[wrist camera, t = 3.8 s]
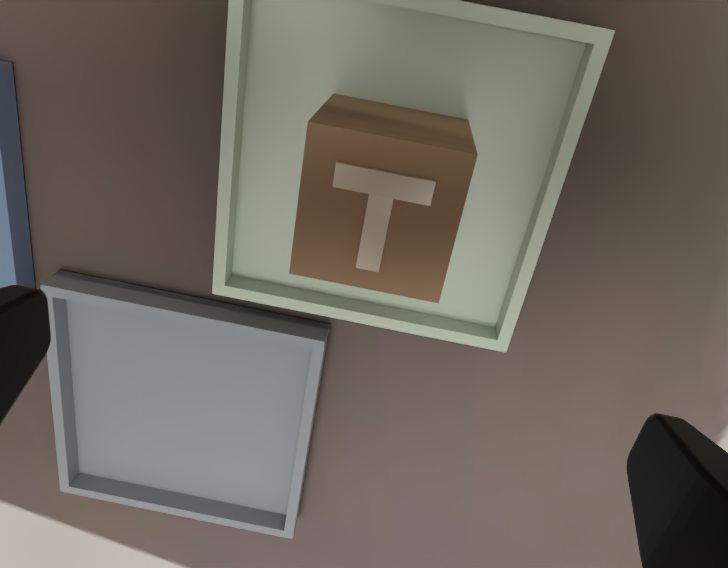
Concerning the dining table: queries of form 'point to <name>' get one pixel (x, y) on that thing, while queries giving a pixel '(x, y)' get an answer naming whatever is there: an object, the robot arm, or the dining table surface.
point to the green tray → (416, 91)
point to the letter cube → (381, 196)
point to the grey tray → (182, 401)
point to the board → (12, 192)
